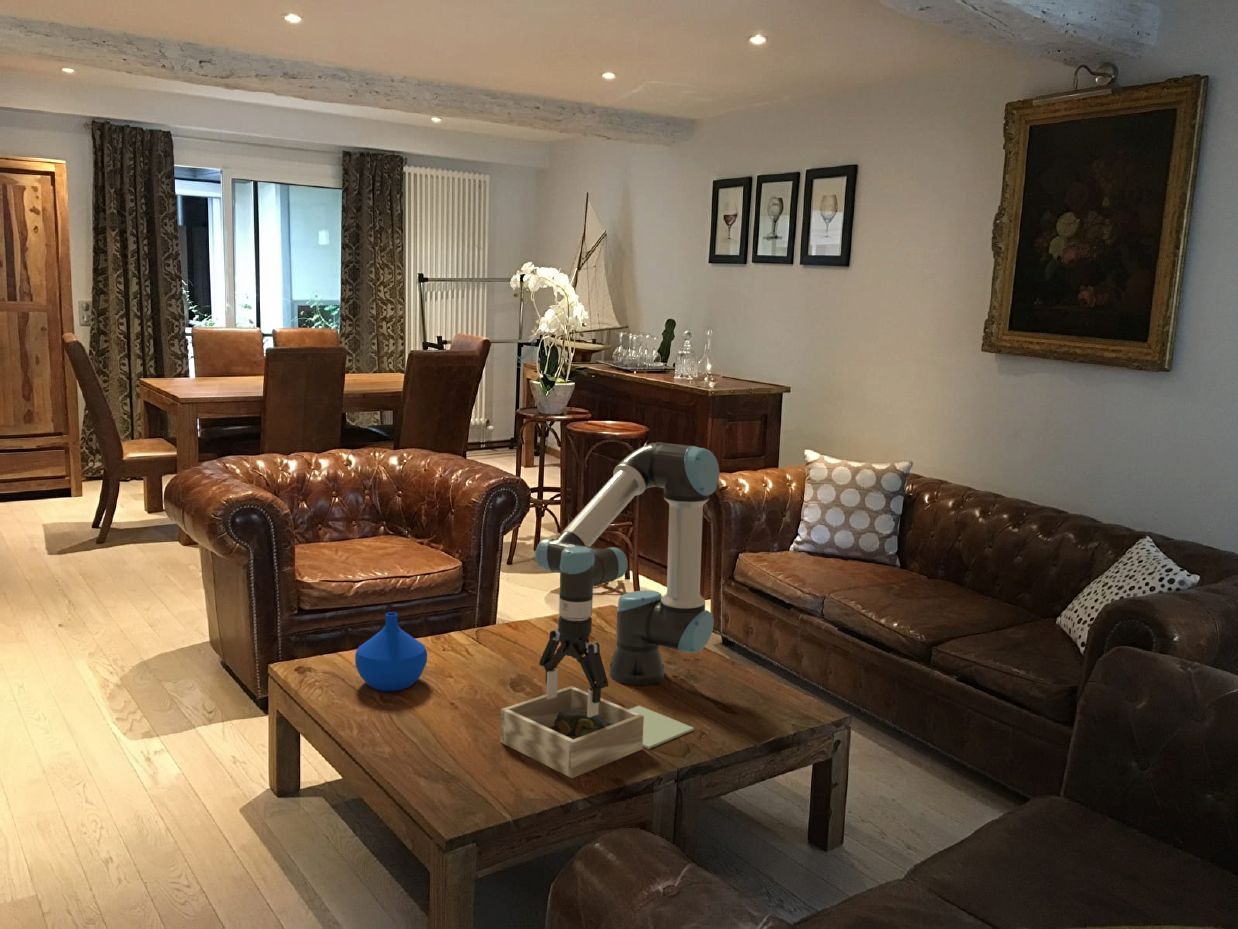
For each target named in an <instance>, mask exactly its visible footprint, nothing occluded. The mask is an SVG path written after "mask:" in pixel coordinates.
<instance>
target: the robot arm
mask: <svg viewBox="0 0 1238 929" xmlns="http://www.w3.org/2000/svg"><path fill="white" fill-rule="evenodd" d="M612 474H613V475H612V477H611V478H610V479H608V481H607V482H606V483H605V484H604V485H603V486H602V488H601V489H599V491H598V492H597V493H596V494H595V495H594V496H593V498H591V500H590V501H589V502H588V503H587V504H586V505H585V506H584V507H583V508H582V510H581V511H580V512H579V513H578V514H577V515H576V516H575V518H573V519H572V520H571V522H570V523H569V524H568V525H567V526H566V527H565V528H564V530H563V531H561V533H560V534H559V535H558V536H557V537H556V538H553V537H551V538H544V539H542V540H540V541H539V543H538V544H537V547H536V549H535V556H534V558H535V563H536V564H537V565H538V567H540V568H541V569H544V570H545V571H549V572H551V573H557V574H558V573H559V594H558V595H559V597H558V599H559V601H558V615H559V616H558V619H557V620H558V621H557V622H558V623H557V629H554V630H551V631H550V632H549V639H548V641H547V644H546V646H545V648H544V651H543V653H542V656H541V657H540V660H539V661H538V662H539V666H540V667H544V670H545V684H546V694H545V695H546V699H548V700H549V699H552V698H555V697H557V691H558V686H559V685H558V683H559V682H558V680H559V669H557V668H558V665H559V664H560V663H561V662H562V661H563V659H564V658H565V657H566V656H568V657H571V658H572V659H575V660H576V662H577V663H578V664H580V666H581V668H582V671H583V673H584V675H585V677H586V679H587V682H588V683H589V686H590V687H588V689H587V693H588V707H587V717H592V716H595V715H598V706H599V702H600V700H601V698H602V694H601V693H602V689H604V688H608V687H609V684H610V683H609V681H608V678H607V674H606V670H605V667H604V662H603V660H602V659H603V658H602V657H601V653H600V647H601V646H600V643H599V642H594V643H591V642H590V640H589V636H590V635H591V634H592V628H593V626H592V625H593V622H592V621H593V620H592V617H591V616H593V597H594V594H593V593H594V587H596V586H600V585H603V584H605V583H609V582H614V581H616V580H617V579H621V578H622V577H623V576H624V575H625V574H626V573H627V570H628V559H627V555H626V554H625V553H624V551H622V549H620V548H618V547H616V546H615V547H614V546H613V547H605V548H604V549H603V548H597V547H591V546H592V545H593V544H594V543H595V542H596V541H597V540H598V538H599V537H600V536H601V535H602V534H603V533H604V532H605V530H607V528H608V527H609V526H610V525H611V523H613V522H614V520H615V519H616V518H617V517H618V516H619V514H621V512H622V511H623V510H624V509H625V508H626V507H627V506H628V504H629V503H631V501H632V500H633V499H634V497H635V496H640V495H642V494H643V493H644V492H645V491H646V490H647V489H649V488H655V487H656V488H661V489H663V499H664V501H666V503H668V505H669V506H668V508H669V509H668V538H667V539H668V542H667V545H668V546H667V574H666V576H667V577H666V583H667V584H666V593H665V594H664V595H663V596H662V593H661V592H659V591H656V590H636V591H635V590H634V591H628V592H626V593H624V594H621V595H620V596H619V599H618V602H617V608H616V613H617V614H616V615H617V616H616V617H617V619H616V643H615V644H616V647H615V649H614V652H613V655H612V659H611V662H610V663H609V666H608V676H609V677H610V679H612V680H614V681H615V682H617V683H622V684H625V685H632V686H647V685H653V684H657V683H660V682H661V681H663V680H664V678H665V665H664V664H663V661H662V655H661V651H660V646H661V647H664V648H668V649H672V650H675V651H678V652H680V653H687V654H696V653H697V654H698V653H699V652H701V651H702V650H703V649H704V648H705V647H706V646H707V644H708V642H709V640H710V639H711V636H712V633H713V629H714V626H715V625H714V624H715V621H714V616H713V614H712V612H710V611H709V610H706V599H705V598H704V597H703V596H702V595H701V568H702V567H701V566H702V543H703V542H702V539H703V536H702V535H703V514H704V513H703V512H704V511H703V509H704V507H703V506H704V505H705V504H706V503H707V502H708V501H709V500H710V495H713V493H714V492H715V491H716V490H717V487H718V484H719V482H720V467H719V463H718V460H717V458H716V456H715V455H714V453H713V452H712V450H711V451H710V450H709V449H706V448H703V447H698V446H697V445H696V446H695V445H687V444H677V443H667V442H659V441H657V442H651V443H648V444H645V445H644V446H641V447H639V448H637V449H635V450H634V451H632V452H631V453H629V454H628V455H627V456H626V457H625V458H623V459H622V460H621V461H620V462H619V463H618V464H617V465H616V466H615V467H614V469H613V472H612ZM559 644H560V645H559Z"/></svg>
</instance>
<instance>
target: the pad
mask: <svg viewBox="0 0 1238 929" xmlns="http://www.w3.org/2000/svg"><path fill="white" fill-rule="evenodd" d="M629 710H631V711H633V712H636V713H638V714H641V715H643V716H644V723H643V747H642V748H645V749H648V750H650V749H652V748H654V747H657V746H659V745H662V744H664V743H667V742H669V741H671V740H673V739H676V738H678V737H681V736H682V735H685V734H688V733H690V732H692V731H695V730H694V728H695V727H694V726H690V725H688V724H686V723H683V722H680V721H678V720H676V719H673V718H671V717H668V716H666V715H664V714H661V713H659V712H656V711H654V710H652V709H648V708H646V707H643V706H641V705H637V706H636V705H635V706H634V707H631V708H629Z"/></svg>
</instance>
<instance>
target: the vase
mask: <svg viewBox="0 0 1238 929" xmlns="http://www.w3.org/2000/svg"><path fill="white" fill-rule="evenodd" d="M354 657H355V658H354V659H355V667H356V670H357V672H358V674H359V676H360V677H361V679H362V680H363V681H364V682H365V683H366V684H367V685H368V686H369V687H370V688H372V689H374V690H376V691H380V692H398V691H403V690H405V688H406V689H408V688H409V687H411V686H412V685H414V683H416V682H417V681H418V679H419V678H420V677H421V676H422V674H423V672H424V669H425V668H426V666H427V662H428V651H427V649H426V645H425V644H423V643H422V642H421V641H419V640H418V639H416V638H415V637H413V636H411V635H410V634H408V632H406V631H404V630H403V629H402V628H400V626H399V625H398V613H397V612H394V611H393V612H387V613H385V625H384V627H382V629H381V630H379V631H378V632H377V633H376V634H374V635H373V636H372V637H371V638H369V639H368V640H366V641H365V642H364V643H362V644H361V645H359V646H358V648H357V649H356V651H355V655H354Z"/></svg>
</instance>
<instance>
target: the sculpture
mask: <svg viewBox="0 0 1238 929" xmlns="http://www.w3.org/2000/svg"><path fill="white" fill-rule="evenodd" d="M554 725H555V727H556V728H557V732H558V733H560V734H563V735H565V736H567V737H569V738H571V739H573V740H574V739H576V738H579V737H582V736H584V735H587V734H589V733H592V732H595V731H597V730H600V729H603V728H605V727H608V726H610V725H613V724H612V723H610V722H607V721H605V720H604V719H603V718H602V717H601V716H599V715H595V716H592V717H587V711H584V710H565V711H561V712H559V714H558V715H557V719H555V722H554Z"/></svg>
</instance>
